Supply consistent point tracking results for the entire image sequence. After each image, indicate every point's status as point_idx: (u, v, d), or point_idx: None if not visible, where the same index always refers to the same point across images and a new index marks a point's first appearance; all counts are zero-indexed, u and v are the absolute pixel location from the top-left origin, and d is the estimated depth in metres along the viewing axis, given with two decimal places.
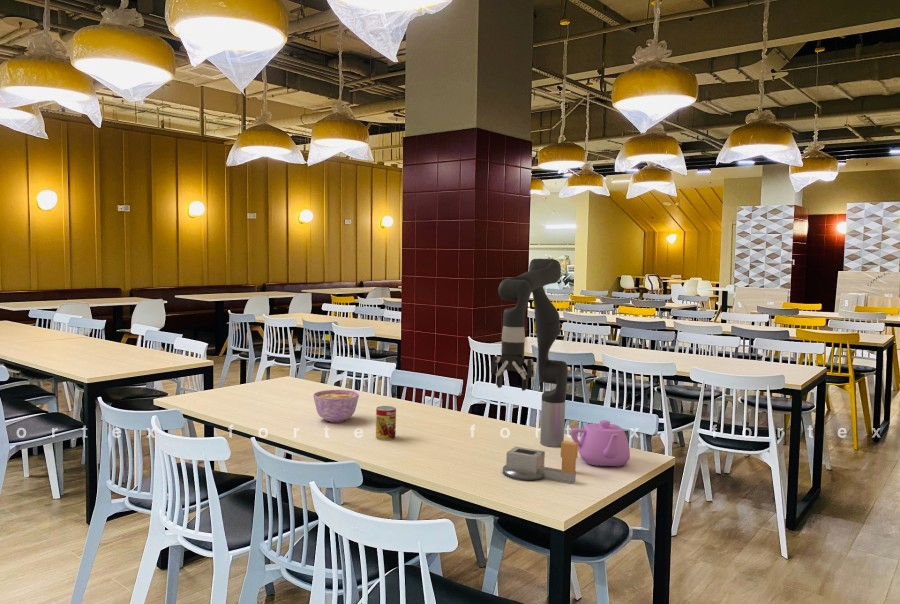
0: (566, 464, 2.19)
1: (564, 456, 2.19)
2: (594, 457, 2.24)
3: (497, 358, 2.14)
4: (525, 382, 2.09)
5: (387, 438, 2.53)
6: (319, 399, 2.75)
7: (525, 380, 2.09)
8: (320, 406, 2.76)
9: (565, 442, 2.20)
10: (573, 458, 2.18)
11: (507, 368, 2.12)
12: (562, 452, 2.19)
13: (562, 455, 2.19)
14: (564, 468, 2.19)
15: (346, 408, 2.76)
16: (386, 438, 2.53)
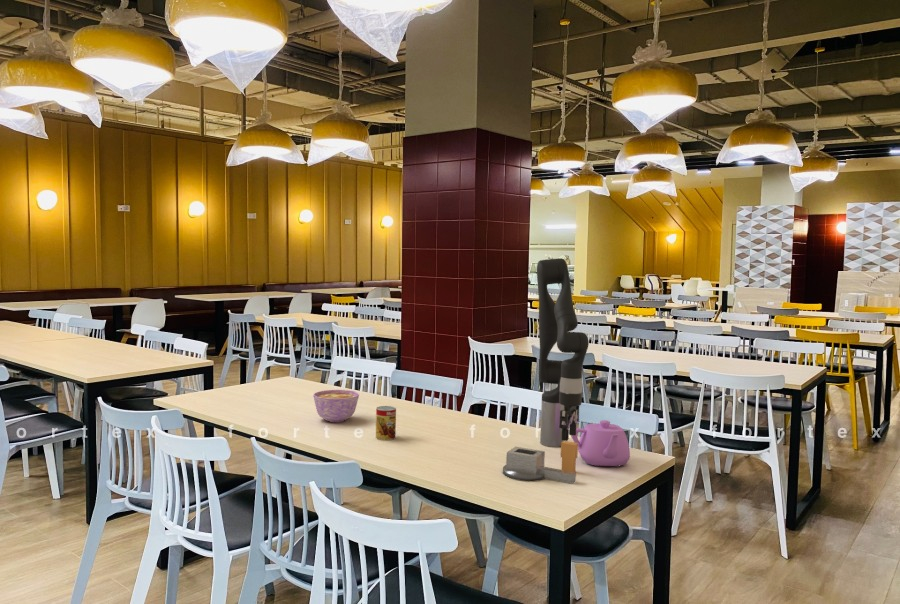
0: (566, 464, 2.19)
1: (564, 456, 2.19)
2: (594, 457, 2.24)
3: None
4: None
5: (387, 438, 2.53)
6: (319, 399, 2.75)
7: (575, 425, 2.23)
8: (320, 406, 2.76)
9: (565, 442, 2.20)
10: (573, 458, 2.18)
11: None
12: (562, 452, 2.19)
13: (562, 455, 2.19)
14: (564, 468, 2.19)
15: (346, 408, 2.76)
16: (386, 438, 2.53)
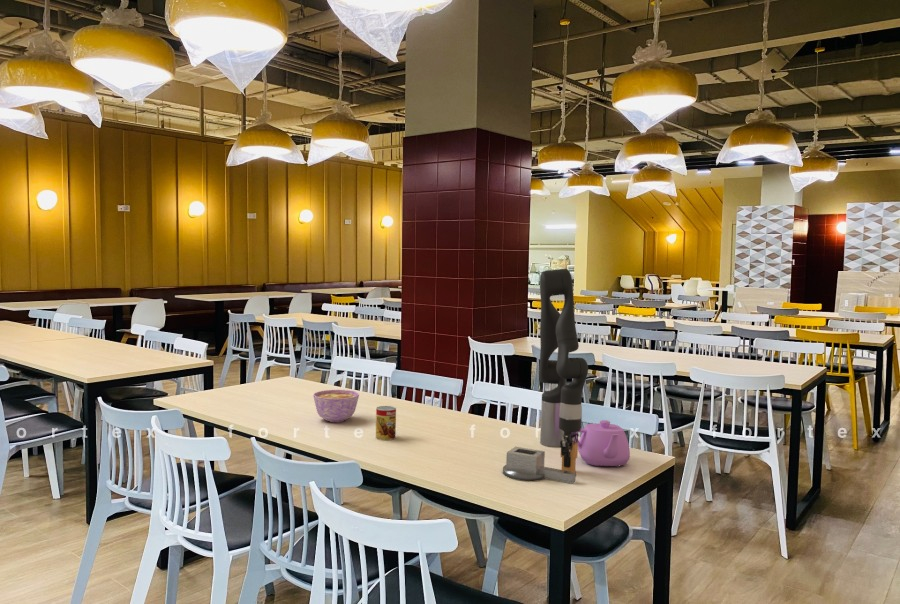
0: None
1: None
2: (594, 457, 2.24)
3: (566, 441, 2.15)
4: None
5: (387, 438, 2.53)
6: (319, 399, 2.75)
7: None
8: (320, 406, 2.76)
9: None
10: (573, 458, 2.18)
11: None
12: None
13: None
14: (564, 468, 2.19)
15: (346, 408, 2.76)
16: (386, 438, 2.53)
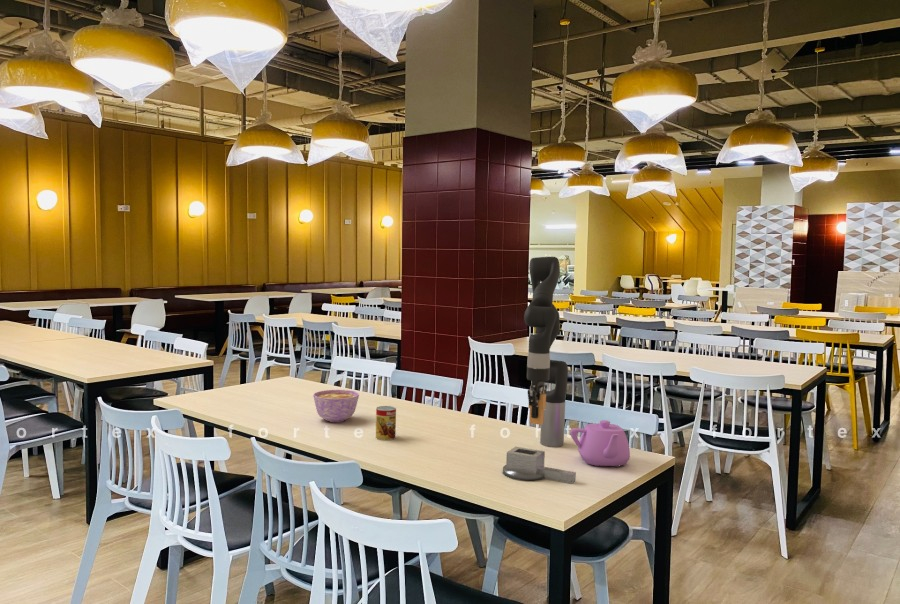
0: None
1: None
2: (594, 457, 2.24)
3: (533, 390, 2.11)
4: None
5: (387, 438, 2.53)
6: (319, 399, 2.75)
7: None
8: (320, 406, 2.76)
9: None
10: (541, 408, 2.14)
11: None
12: None
13: (530, 406, 2.15)
14: (532, 420, 2.15)
15: (346, 408, 2.76)
16: (386, 438, 2.53)
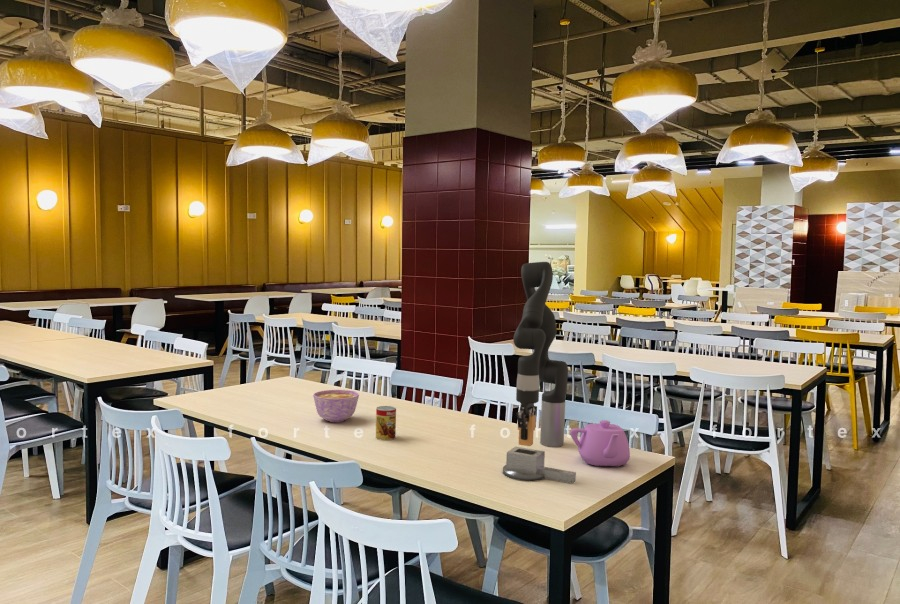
0: None
1: None
2: (594, 457, 2.24)
3: (522, 412, 2.11)
4: None
5: (387, 438, 2.53)
6: (319, 399, 2.75)
7: None
8: (320, 406, 2.76)
9: None
10: (530, 430, 2.14)
11: None
12: None
13: None
14: (521, 441, 2.15)
15: (346, 408, 2.76)
16: (386, 438, 2.53)
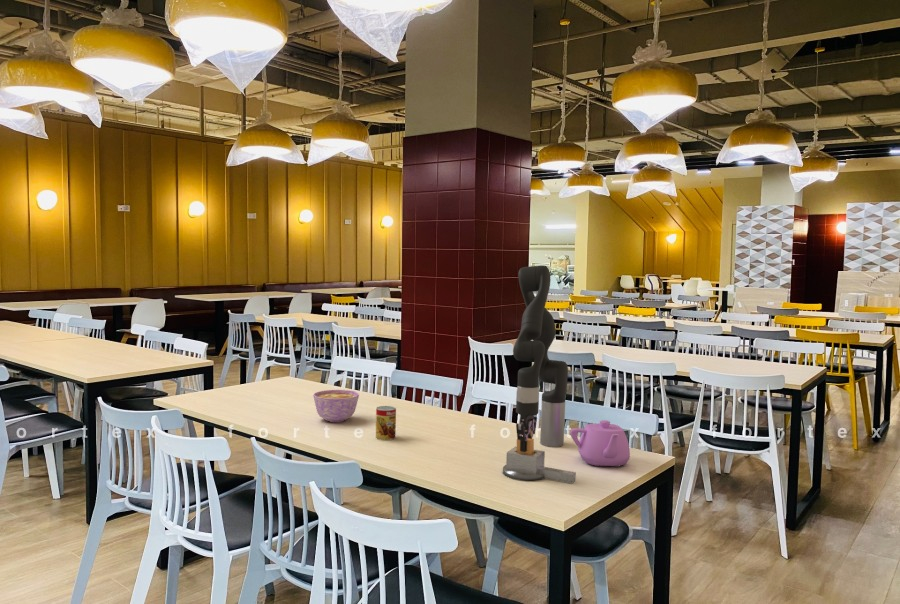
0: None
1: (520, 452, 2.16)
2: (594, 457, 2.24)
3: (522, 424, 2.11)
4: None
5: (387, 438, 2.53)
6: (319, 399, 2.75)
7: None
8: (320, 406, 2.76)
9: None
10: None
11: None
12: (518, 448, 2.16)
13: (518, 452, 2.16)
14: None
15: (346, 408, 2.76)
16: (386, 438, 2.53)
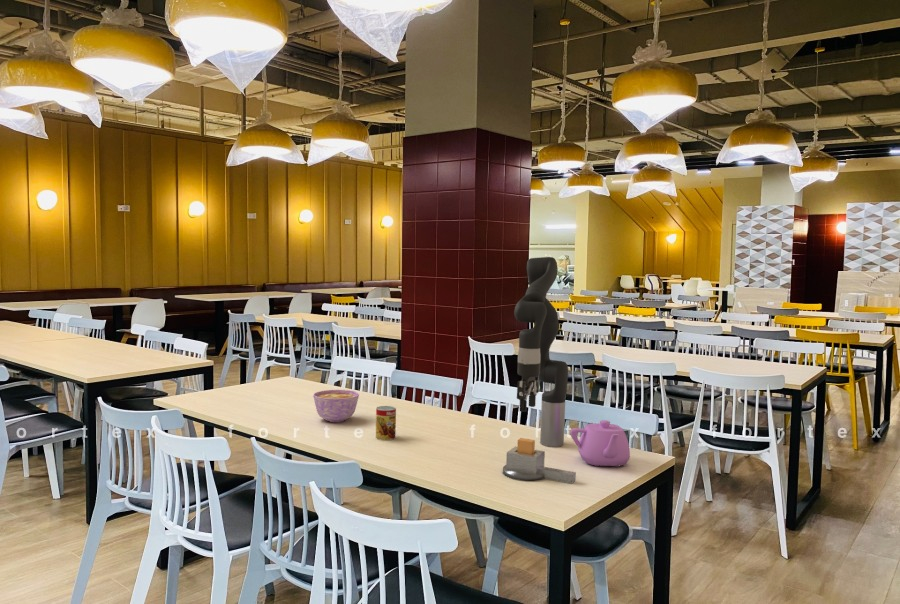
0: None
1: None
2: (594, 457, 2.24)
3: None
4: None
5: (387, 438, 2.53)
6: (319, 399, 2.75)
7: None
8: (320, 406, 2.76)
9: (522, 439, 2.17)
10: None
11: None
12: (519, 449, 2.16)
13: (519, 452, 2.16)
14: None
15: (346, 408, 2.76)
16: (386, 438, 2.53)
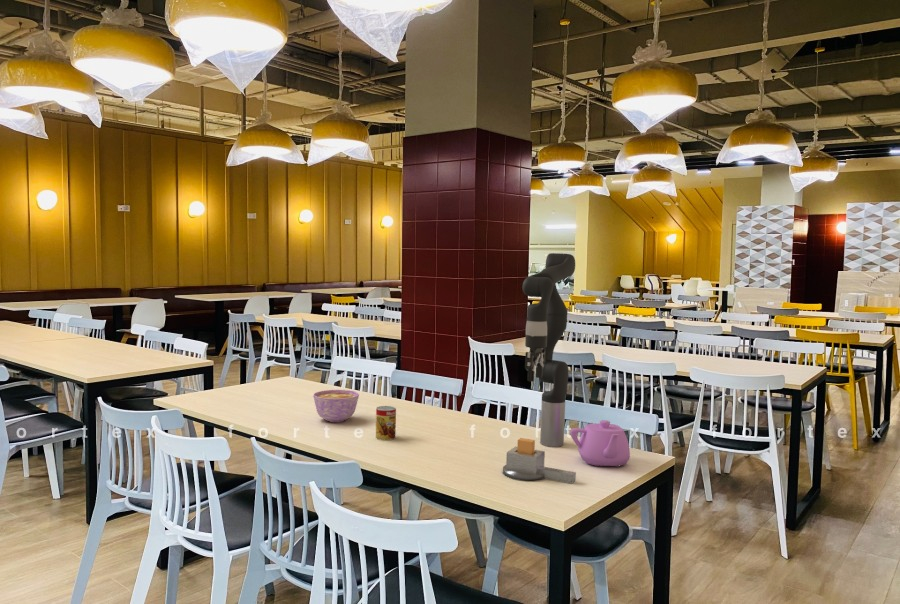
0: None
1: None
2: (594, 457, 2.24)
3: None
4: (541, 369, 2.31)
5: (387, 438, 2.53)
6: (319, 399, 2.75)
7: (541, 368, 2.30)
8: (320, 406, 2.76)
9: (522, 439, 2.17)
10: None
11: None
12: (519, 449, 2.16)
13: (519, 452, 2.16)
14: None
15: (346, 408, 2.76)
16: (386, 438, 2.53)
